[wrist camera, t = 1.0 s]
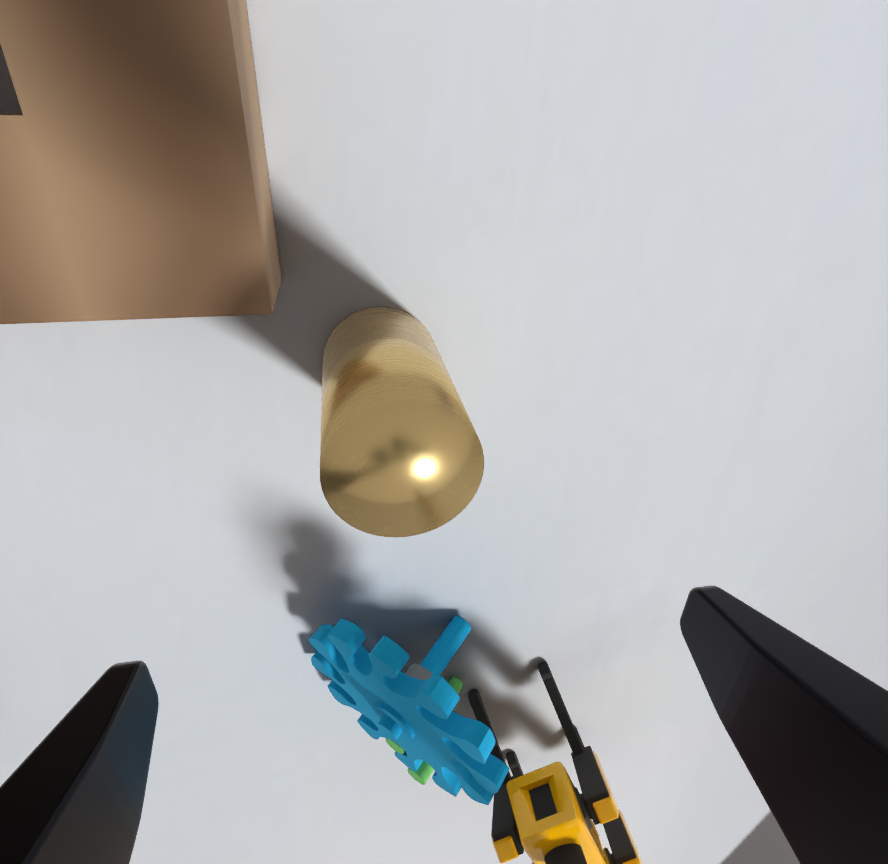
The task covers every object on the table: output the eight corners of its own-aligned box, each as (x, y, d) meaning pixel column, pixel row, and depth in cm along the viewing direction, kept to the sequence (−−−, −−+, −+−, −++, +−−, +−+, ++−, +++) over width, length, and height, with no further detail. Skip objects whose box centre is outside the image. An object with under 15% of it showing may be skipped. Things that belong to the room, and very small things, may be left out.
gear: (274, 607, 22) (490, 755, 17) (369, 513, 26) (568, 613, 21) (326, 727, 29) (490, 856, 24) (394, 640, 32) (548, 736, 28)
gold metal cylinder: (328, 416, 20) (327, 544, 14) (317, 309, 18) (311, 405, 12) (436, 409, 21) (479, 528, 15) (437, 304, 19) (488, 394, 13)
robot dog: (522, 580, 26) (671, 940, 15) (597, 754, 36) (723, 1055, 24) (412, 625, 26) (476, 1015, 15) (516, 787, 36) (604, 1100, 24)
